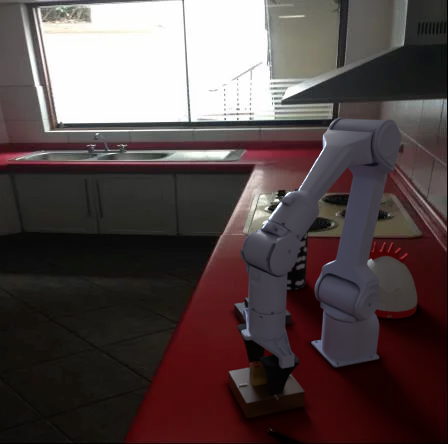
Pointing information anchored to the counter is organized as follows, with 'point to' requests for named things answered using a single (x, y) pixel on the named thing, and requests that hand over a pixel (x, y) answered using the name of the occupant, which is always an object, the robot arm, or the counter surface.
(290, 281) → the white-spotted black cylinder
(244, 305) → the grey stepped block
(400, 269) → the kitchen timer
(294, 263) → the robot arm
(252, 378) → the yellow rectangular block
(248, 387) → the panel
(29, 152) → the counter surface
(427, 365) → the counter surface
